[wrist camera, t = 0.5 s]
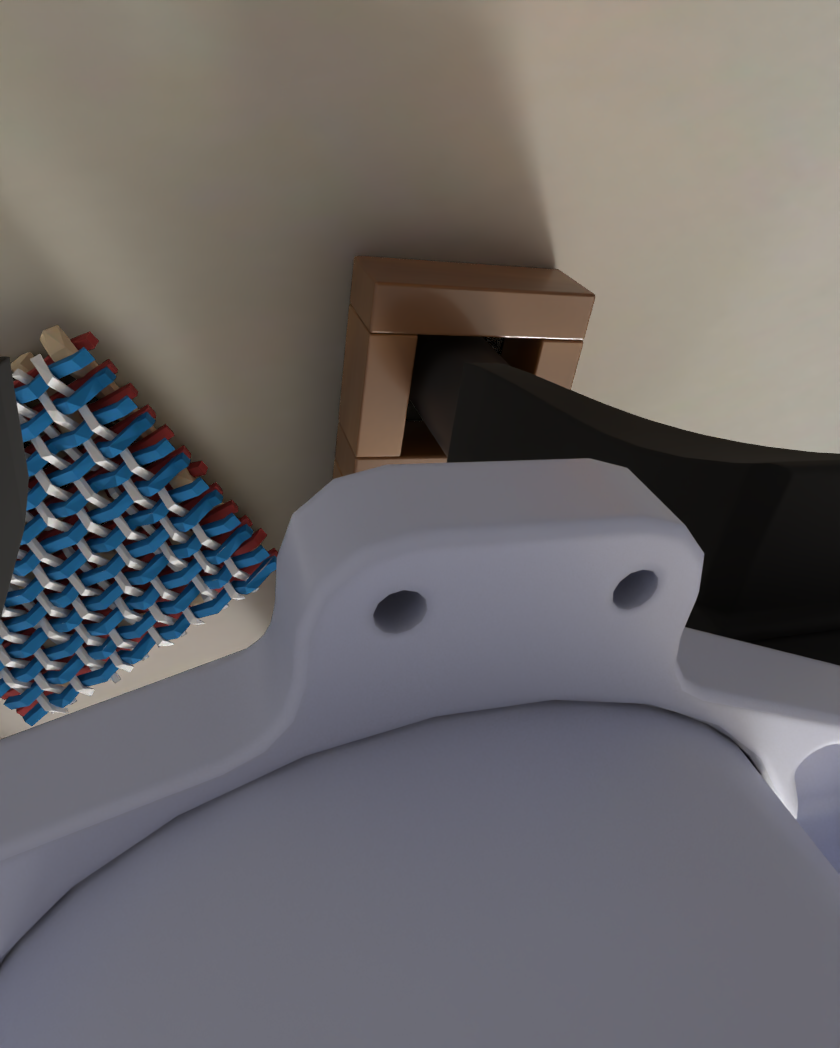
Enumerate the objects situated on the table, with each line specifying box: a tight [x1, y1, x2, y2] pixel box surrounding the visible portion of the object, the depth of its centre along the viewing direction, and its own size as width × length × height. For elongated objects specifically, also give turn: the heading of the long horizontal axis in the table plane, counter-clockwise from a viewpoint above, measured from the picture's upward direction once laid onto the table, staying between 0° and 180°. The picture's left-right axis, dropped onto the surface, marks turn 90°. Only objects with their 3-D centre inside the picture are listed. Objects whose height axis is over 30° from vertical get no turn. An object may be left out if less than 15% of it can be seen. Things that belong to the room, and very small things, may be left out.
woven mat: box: [0, 325, 279, 726], centre depth 23 cm, size 10×11×2 cm
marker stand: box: [333, 256, 595, 479], centre depth 27 cm, size 17×7×2 cm, turn 171°
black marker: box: [409, 334, 510, 457], centre depth 22 cm, size 3×3×8 cm
